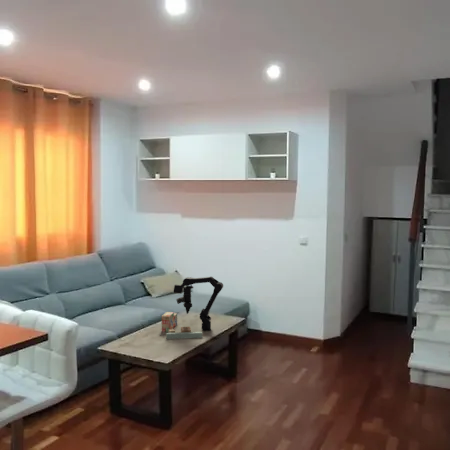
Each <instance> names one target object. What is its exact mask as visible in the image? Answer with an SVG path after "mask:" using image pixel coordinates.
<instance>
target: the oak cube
mask: <svg viewBox="0 0 450 450" xmlns="http://www.w3.org/2000/svg"><path fill="white" fill-rule="evenodd" d="M167 333H176V330H175V329H174V328H173V329H171V330H168V332H167Z"/></svg>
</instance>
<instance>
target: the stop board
mask: <svg viewBox="0 0 450 450" xmlns="http://www.w3.org/2000/svg"><path fill="white" fill-rule="evenodd" d="M165 336H166V339H167V340H170V339H171V340H172V339H174V340H175V339H197V338H198V339H201V338H203V331H191V332H181V331H180V332H175V333H168V332H166V335H165Z"/></svg>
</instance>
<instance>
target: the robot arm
mask: <svg viewBox="0 0 450 450" xmlns="http://www.w3.org/2000/svg"><path fill="white" fill-rule="evenodd" d="M206 283H210V285H211V286H213V292H212V295H211V296H210V298H209V300H208V302H207V304H206V306H205V308H202V309H201V310H200V311H201V312H200V313H199V314H198V315H199V319H200V321H201V330H202V332H203V331H205V332H206V331H212V327H211V324H212V323H211V320H212V317H211V316H210V311H211V308H212V306H213V304H214V303H215V301H216V299H217V296H218V295H219V294H220V292H221V291H222V290H223V288H224V284H223V283H222V282H221V281H219V280H218V279H215V278H214V276H205V277H192V276H191V277H189V276H187V277H185V278H184V279H183V281H182V284H174V286H173V294H178V295H180V294H182V293H183V295H182V296H180V297H178V298H176V299H175V300H176V302H177V304H178V305H180V304H181V303H183V308H185V311H186V315H188V314H189V312H190V310H191V308H192V307H193V303H192V289H194V286H193V285H194V284H206Z"/></svg>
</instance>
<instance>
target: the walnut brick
mask: <svg viewBox="0 0 450 450" xmlns="http://www.w3.org/2000/svg"><path fill="white" fill-rule="evenodd" d="M180 332H192V329H191V326H180Z"/></svg>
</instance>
